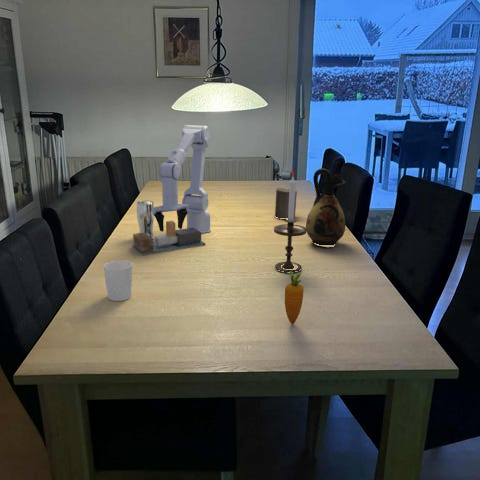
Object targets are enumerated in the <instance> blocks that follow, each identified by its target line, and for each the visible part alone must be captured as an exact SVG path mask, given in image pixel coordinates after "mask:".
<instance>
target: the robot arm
mask: <svg viewBox="0 0 480 480" xmlns="http://www.w3.org/2000/svg"><path fill="white" fill-rule="evenodd" d="M209 129H210V128H209V127H208V126H207V125H193V124H191V125H189V124H184V125H183V127H182V131H181V137H182V138H181V140H180V142H179V144H178V147H177V148H174V149H173V150H172V151H171V152H170V154H169V156H168V158H167V159H166V161H165V162H162V163H161V164H160V166H159V169H158V175H159V178H160V182H161V185H162V186H161V187H162V189H161V193H162V205H159V206H154V207H153V208H151V211H152V213H153V214H154V219H156V222H157V225H158V228H159V231H160V232H163V233H164V230H165V229H164V228H165V227H164V219H165V215H164V214H163V213H169V212H176V216H177V228H178V230H180V229H183V225H184V222H185V219H186V228H185V229H187V228H195V229H196V230H198V231H200V232H201V234H204V233H211V232H212V230H211V215H210V212H209V210H208V208H209V194H208V192H207V191H206V190H205V189H204V187H203V181H204V171H205V170H204V169H205V159H206V149H207V148H208V147H209V145H210V137H211V132H210V130H209ZM191 147H192V162H191V175H190V184H189V187H188V188H187V189H186V190H185V191H184V193H183V197H182V201H181V203H179V190H178V187H179V185H178V179H179V178H180V176H181V171H182V166H183V164H184V163H185V160H186V158H187V155H186V153H187V152H188V150H189V149H190V148H191Z"/></svg>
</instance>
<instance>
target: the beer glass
mask: <svg viewBox="0 0 480 480" xmlns="http://www.w3.org/2000/svg"><path fill="white" fill-rule="evenodd" d="M153 207H155V204H154V201H152V200H138V201H137V202H136V218H137V223H138V224H137V225H138V229H139V233H146V234H147V235H149V236H150V237H152V238H153V240H154V236H155V235H154V222H155V216H154V214H153V213H152V211H151V208H153Z"/></svg>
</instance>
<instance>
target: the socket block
mask: <svg viewBox="0 0 480 480" xmlns="http://www.w3.org/2000/svg"><path fill="white" fill-rule="evenodd" d="M132 239H133V241H132V242H133V245H134V246H135V247H136V248H137V249H139V250H140V251H141V252H148V251H154V242H155V240H154V239H153V238H152V237H150V236H149V235H147V234H146V233H132Z"/></svg>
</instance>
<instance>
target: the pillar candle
mask: <svg viewBox="0 0 480 480" xmlns="http://www.w3.org/2000/svg"><path fill="white" fill-rule="evenodd" d="M275 190H276V191H275V192H276V193H275V209H274V217H275V216H276V217H278V218H288V210H289V190H290V187H288V186H286V187H277V188H276V189H275ZM297 193H298V189H296V188H295V203H294V217H295V218H296V210H297V197H298V196H297V195H298V194H297Z"/></svg>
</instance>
